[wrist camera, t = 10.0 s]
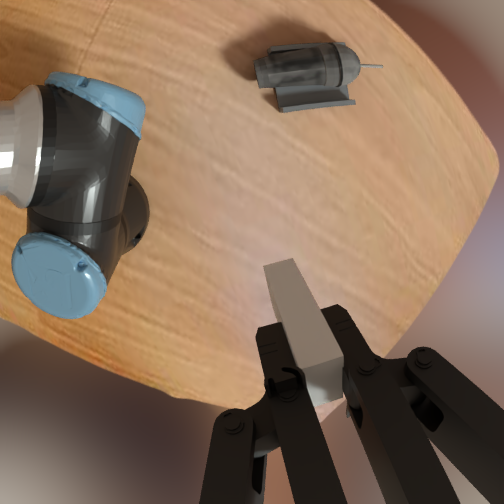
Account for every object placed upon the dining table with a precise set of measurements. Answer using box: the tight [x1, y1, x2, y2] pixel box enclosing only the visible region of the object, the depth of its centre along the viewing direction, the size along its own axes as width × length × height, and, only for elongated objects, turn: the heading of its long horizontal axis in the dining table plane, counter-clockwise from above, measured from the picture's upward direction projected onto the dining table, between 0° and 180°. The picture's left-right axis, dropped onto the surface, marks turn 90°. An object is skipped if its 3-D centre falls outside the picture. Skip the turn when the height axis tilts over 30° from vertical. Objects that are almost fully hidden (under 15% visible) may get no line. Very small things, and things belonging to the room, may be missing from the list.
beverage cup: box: [253, 43, 383, 88], centre depth 36 cm, size 7×7×20 cm
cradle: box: [267, 42, 356, 113], centre depth 39 cm, size 12×11×2 cm
